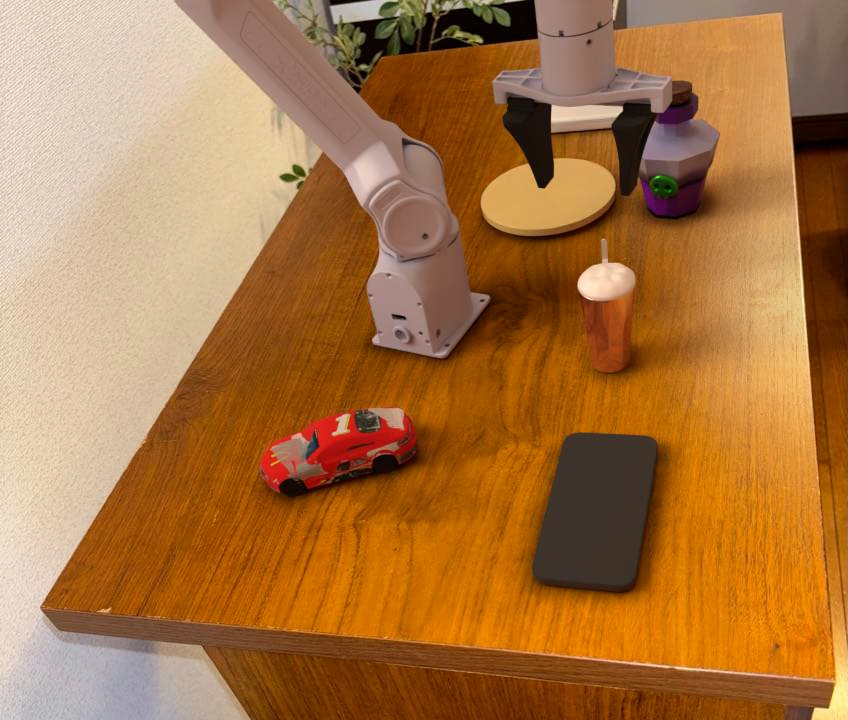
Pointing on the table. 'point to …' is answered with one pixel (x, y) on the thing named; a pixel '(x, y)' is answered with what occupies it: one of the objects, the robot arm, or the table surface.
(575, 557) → the phone
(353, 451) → the race car
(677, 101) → the potion bottle
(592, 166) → the plate
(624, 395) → the table surface
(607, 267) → the milkshake
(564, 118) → the hard drive
